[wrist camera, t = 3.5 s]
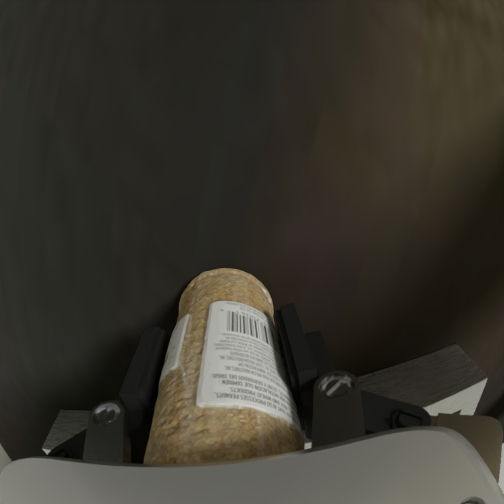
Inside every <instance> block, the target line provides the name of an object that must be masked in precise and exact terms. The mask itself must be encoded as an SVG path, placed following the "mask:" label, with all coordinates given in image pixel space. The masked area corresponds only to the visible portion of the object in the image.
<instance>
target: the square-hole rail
mask: <svg viewBox="0 0 504 504" xmlns="http://www.w3.org/2000/svg"><path fill="white" fill-rule="evenodd" d="M357 378H358V380H359V383H360V390H363V391H367V392H370V393H373V394H377V395H380V396H384V397H387V398H391V399H394V400H398V401H401V402H405V403H409V404H413V405H416V406H419V407H422V408H424V409H425V410H426V411H427V412H428V413H429V415H432V416H437V415H438V413H446V414H459V415H473V414H474V411H475V409H476V407H477V404H478V402H479V399H480V397H481V394H482V392H483V389H484V387H485V384H486V381H487V377H486V376H485V374H484V373H483V372H482V371H481V370H480V369H479V368H478V367H477V366H476V364H475V363H474V362H473V361H472V360H471V359H470V358H469V357H468V356H467V355H466V353H465V352H464V351H463V350H462V349H461V348H460V347H459V346H458V345H457V344H453V345H451V346H448V347H446V348H443V349H441V350H438V351H436V352H433V353H430V354H427V355H425V356H422V357H419V358H416V359H413V360H411V361H408V362H405V363H402V364H399V365H396V366H392V367H389V368H386V369H383V370H380V371H376V372H373V373H370V374H366V375H363V376H359V377H357ZM90 412H91V411H80V410H60V412H59V414H58V416H57V418H56V420H55V422H54V424H53V426H52V428H51V430H50V432H49V434H48V436H47V438H46V441H45V443H44V445H43V447H42V449H43V451H44V452H45V453H46V454H47V455H48V453H49V452H50V451H51V450H52V449H53V448H55V447H56V446H58V445H60V444H61V443H63V442H65V441H66V440H68V439H70V438H71V437H73V436H75V435H76V434H78V433H80V432H81V431H83V430H85V429H86V428H87V424H88V417H89V414H90ZM302 432H303V436H304V443H305V449H309V448H311V442H312V440H311V439H309V438H308V439H306V436H305V431H302ZM305 449H304V450H305Z"/></svg>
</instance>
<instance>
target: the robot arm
mask: <svg viewBox="0 0 504 504" xmlns="http://www.w3.org/2000/svg"><path fill="white" fill-rule="evenodd" d="M275 314H276V320H277V326H278V332H279V338H280V342H281V346H282V350H283V354H284V358H285V362H286V367H287V371H288V375H289V379H290V384H291V388H292V392H293V397H294V400H295V403H296V406H297V411H298V415H299V419H300V423H301V427H302V431H305V436H306V439H308V438H309V439H311V440H312V442H311V448H309V449H305V450H300V451H294V452H289V453H283V454H277V455H271V456H264V457H257V458H249V459H241V460H231V461H221V462H207V463H188V464H143V463H144V456H145V453H146V448H147V444H148V441H149V435H150V430H151V426H152V420H153V416H154V410H155V405H156V401H157V398H158V389H159V381H160V377H161V373H162V369H163V366H164V362H165V357H166V354H167V350H168V346H169V343H170V341H169V339H168V336H167V333H166V331H165V330H164V329H162V330H161V328H160V327H151V328H146V329H145V331H144V333H143V335H142V338H141V340H140V342H139V345H138V347H137V350H136V352H135V355H134V357H133V360H132V361H131V362H130V364H129V366H128V369H127V371H126V374H125V376H124V379H123V381H122V384H121V386H120V389H119V392H118V394H117V397H116V399H115V401H113V400H112V401H105V402H102V403H100V404H98V405H97V406H95V407H94V408H93V409H92V411H91V412H90V414H89V417H88V424H87V428H86V429H85V430H83V431H81V432H80V433H78V434H76V435H75V436H73V437H71V438H70V439H68V440H66V441H65V442H63V443H61V444H60V445H58V446H56V447H55V448H53V449H52V450H51V451H50V452H49V453H48V455H47V456H37V457H27V458H21V459H18V460H15V461H12V462H10V463H9V464H7V465H6V466H5V467H4V469H3V470H2V471H1V473H0V504H504V494H503V492H502V490H501V488H500V486H499V485H498V482H499V473H500V462H501V450H502V426H501V424H500V423H499V421H498V420H496V419H495V418H493V417H489V416H475V415H459V414H446V413H438V415H437V416H432V415H429V413H428V412H427V411H426V410H425V409H424V408H422V407H419V406H416V405H413V404H409V403H405V402H401V401H398V400H394V399H391V398H387V397H384V396H380V395H377V394H373V393H370V392H367V391H363V390H360V383H359V380H358V378H357V377H356V376H355V375H353V374H351V373H349V372H346V371H337V370H336V368H335V365H334V363H333V361H332V358H331V356H330V354H329V351H328V349H327V347H326V344H325V342H324V340H323V337H322V335H321V333H320V331H316V332H311V333H307V334H304V332H303V329H302V326H301V323H300V320H299V318H298V315H297V312H296V309H295V307H294V304H293V303H292V304H287V305H282V306H280V310H276V311H275Z"/></svg>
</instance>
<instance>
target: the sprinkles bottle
mask: <svg viewBox="0 0 504 504" xmlns="http://www.w3.org/2000/svg"><path fill="white" fill-rule="evenodd" d="M273 313H274V312H273V302H272V299H271V296H270V294H269V292H268V290H267V289H266V288H265V287H264V285H263V284H262V283H261V282H260V281H258V280H257V279H256V278H255V277H254V276H252V275H251V274H248V273H246V272H244V271H241V270H238V269H231V268H219V269H215V270H210V271H206V272H203V273H201V274H200V275H199V276H197V277H196V278H194V279H193V280H192V281H191V282H190V283H189V285H188V286H187V288H186V289H185V290H184V292H183V294H182V296H181V298H180V303H179V316H178V319H177V323H176V326H175V328H174V330H173V332H172V335H171V339H170V343H169V346H168V350H167V354H166V357H165V362H164V366H163V369H162V373H161V377H160V381H159V389H158V398H157V401H156V405H155V410H154V416H153V420H152V426H151V430H150V435H149V441H148V444H147V448H146V453H145V456H144V463H143V464H188V463H207V462H221V461H231V460H241V459H249V458H257V457H264V456H271V455H277V454H283V453H289V452H294V451H300V450H304V449H305V443H304V436H303V432H302V427H301V423H300V419H299V415H298V411H297V406H296V403H295V400H294V397H293V392H292V388H291V384H290V379H289V375H288V371H287V367H286V362H285V358H284V354H283V350H282V346H281V342H280V338H279V334H278V332H277V330H276V327H275V323H274V320H273Z"/></svg>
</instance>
